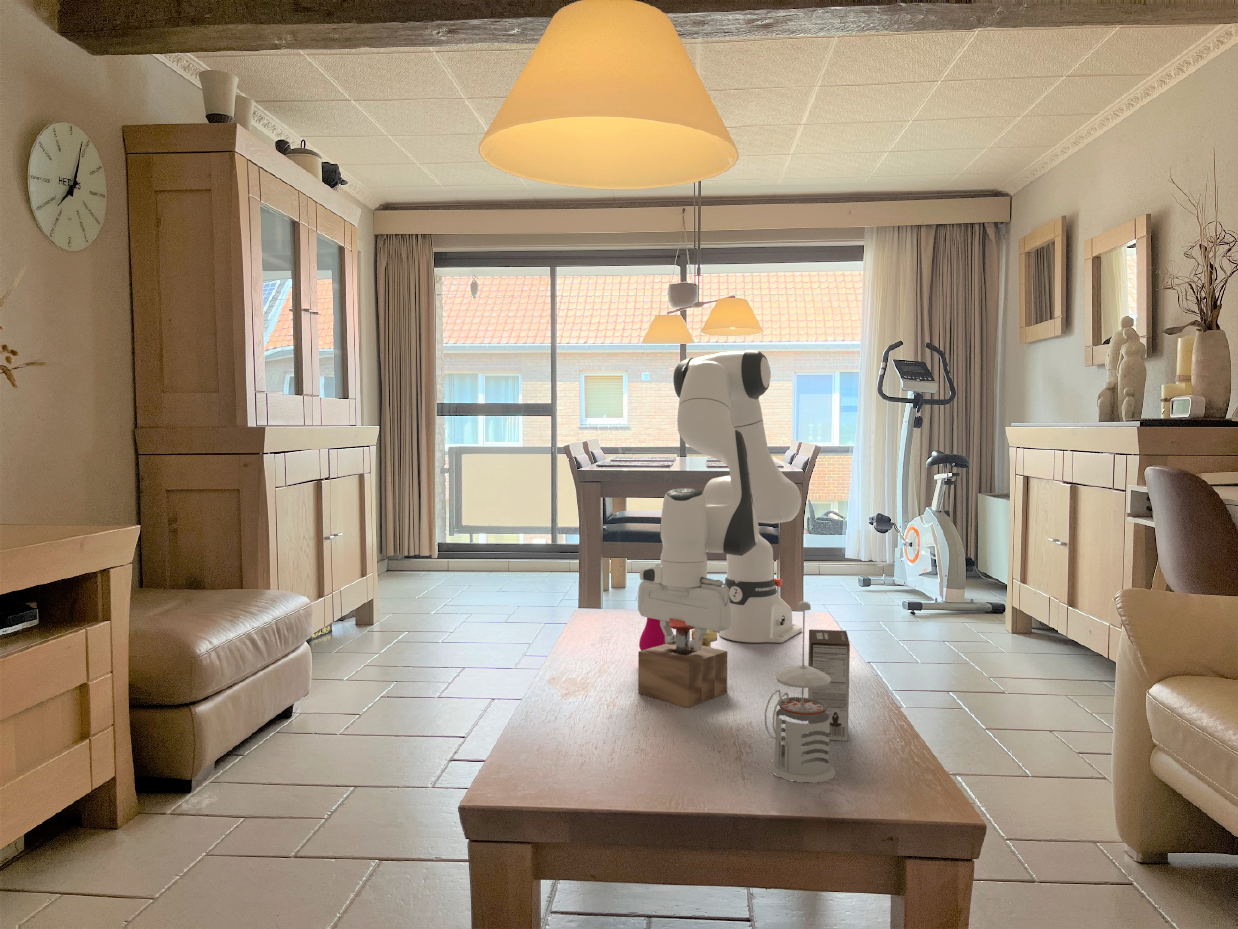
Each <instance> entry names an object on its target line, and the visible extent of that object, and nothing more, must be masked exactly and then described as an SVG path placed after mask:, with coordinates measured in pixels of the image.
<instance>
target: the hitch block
mask: <svg viewBox="0 0 1238 929" xmlns="http://www.w3.org/2000/svg"><path fill="white" fill-rule="evenodd" d="M690 646H691V645H690ZM637 659H638V666H637V667H638V668H637V670H638V673H637V674H638V676H637V678H638V679H637V681H638V682H637V684H638V685H637V688H638V689H637V694H639V695H644V696H647V697H650V698H654V699H657V700H661V701H663V702H667V703H670V704H674V705H678V706H680V707H684V708H687V709H688V708H690V707H691V708H692V707H693V706H696V705H699V704H702V703H703V702H706V701H710V700H712V699H713V698H714V699H715V698H717V697H720V696H722V695H725V694H727V693H728V651H727V650H724V649H720V648H719V649H718V648H715V647H712V646H711V647H706V646H702V648H701V650H699V651H695V650H691V649H690V654H687V655H681V654H677V653H676V644H673V645H669V644H663V645H660V646H656V647H653V648H649V649H646V650H642V651H641V650H638V658H637Z"/></svg>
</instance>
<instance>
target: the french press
mask: <svg viewBox="0 0 1238 929" xmlns="http://www.w3.org/2000/svg"><path fill="white" fill-rule="evenodd" d="M811 609H812V608H811V604H810V602H809V601H803V600H802V601H800V602H799V603H798V604H797V610H799V611H802V612H803V613H802V614H803V615H802V659H801V660H802V661H801V662H802V663H801V664H802V665H801V664H800V665H791V666H789V667H786V668H783V669H782V670H779V671H778V672H777V673H776V674H775V675H774V677H775V679H776V681H777V682H778V683H779V684H782V685H783V686H787V687H791V688H797V689H798V688H801V697H800V696H791V697H790V696H789V694H788V693H787V692H784V693H783V694H782V695H781V690H780V689H777V690H776V691H774V692H773V693H772V694H771V695H770V697H769V699H768V700H767V703H766V706H765V710H764V727H765V730H766V732H767V734H768V735H769V736H770V738H772V739H773V740H775V741H774V758H773V759H772V760H771V761H770V762H771V763H770V762H769V764H768V765H767V768H768V767H769V768H768V770H769V772H770V773H771V774H773V773H775V774H776V775H777V776H778V778H779V777H782V778H784V779H783V780H785V779H787V780H786V781H788V780H793V781H797V782H796V783H799V782H810V783H809V784H818V783H817V782H819V783H823V782H824V781H825V782H828V781H830V780H832V779H833V778H834V777H835V775H836V774H837V772H836V770H835V768H834V766H832V764H830V761H829V759H830V753H829V751H830V744H829V743H830V740H829V735H828V733H829V732H830V717H829V715H828V714H827V713H826V712H825V711H826V709H827V708H828V707H827V705H826V704H825V703H824V702H821V701H820V700H816V699H815V700H814V699H812V698H811V699H810V698H808V697H804V689H808V688H818V687H823V686H826V685H828V684H829V683H830V681H831V678H830V677H829V676H828V675H827V674H825V673H824V672H822V671H820V670H817V669H815V668H813V667H810V666H808V665H807V666H806V665H805V622H806V621H805V616H806V611H811ZM777 693H778V697H779V698H778V700H777V702H776V704H775V706H774V709H773V713H772V729H773V734H774V736H773V735H772V734H771V733H770V731H769V728H768V725H767V724H768V723H767V722H768V721H767V712H768V708H769V704H770V703H771V702H770V701H771V700H772V699H773V696H774V695H775V694H777ZM785 696H786V697H785ZM778 706H779V709H778V710H777V708H778ZM780 716H785V717H787V718H789V719H792V720H796V721H800V722H808V721H809V723H800V722H793V721H790V720H786V719H782V718H781V717H780ZM782 725H785V727H782ZM783 733H784V734H785V735H782V734H783ZM835 773H836V774H835ZM777 776H776V777H777ZM782 778H781V779H782ZM829 779H830V780H829ZM827 780H828V781H827ZM793 781H792V782H793ZM820 781H821V782H820ZM811 782H813V783H811Z"/></svg>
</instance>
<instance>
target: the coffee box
mask: <svg viewBox="0 0 1238 929" xmlns="http://www.w3.org/2000/svg"><path fill="white" fill-rule="evenodd" d="M850 647H851V643H850V640H849V635H848V632H847V630H837V629H836V630H831V629H809V630H808V662H807V663H808V665H807V666H810V667H813V668H815V669H817V670H820V671H822V672H824V673H825V674H827V675H828V676H829V677H830V678H831V681H830V683H829V684H828V685H826V686H823V687H818V688H807V698H810V699H811V698H812V699H814V700H815V699H816V700H820V701H821V702H824V703H825V704H826V705H827V707H828V708H827V709H826V711H825V712H826V713H827V714H828V715H829V717H830V732H829V733H828V735H829V741H842V742H848V740H849V705H850V703H849V699H850V698H849V697H850V694H849V693H850V653H851V651H850V650H851V648H850ZM807 722H808V723H807V724H809V721H807Z"/></svg>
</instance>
